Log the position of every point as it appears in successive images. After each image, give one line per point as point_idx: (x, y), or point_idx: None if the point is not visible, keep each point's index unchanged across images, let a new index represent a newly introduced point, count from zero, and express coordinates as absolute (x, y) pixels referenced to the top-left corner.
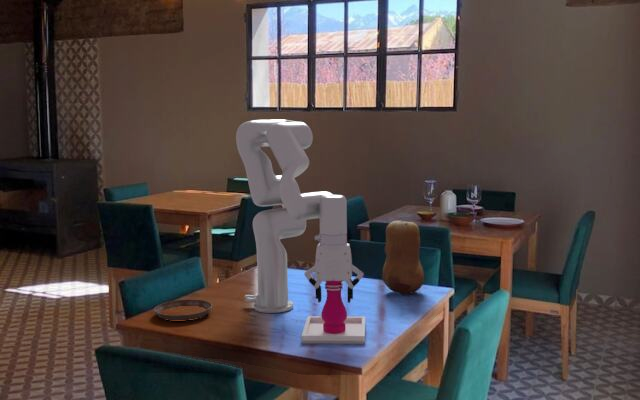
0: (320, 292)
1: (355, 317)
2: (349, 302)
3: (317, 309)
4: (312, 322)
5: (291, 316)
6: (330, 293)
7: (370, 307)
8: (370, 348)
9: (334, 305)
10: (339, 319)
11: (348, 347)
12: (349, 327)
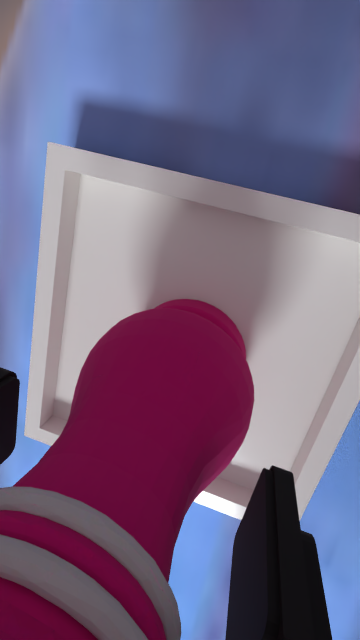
0: (262, 572)
1: None
2: (6, 370)
3: (203, 628)
4: None
5: (337, 610)
6: (134, 494)
7: None
8: (54, 74)
9: (143, 381)
10: (146, 310)
11: (161, 110)
12: None
